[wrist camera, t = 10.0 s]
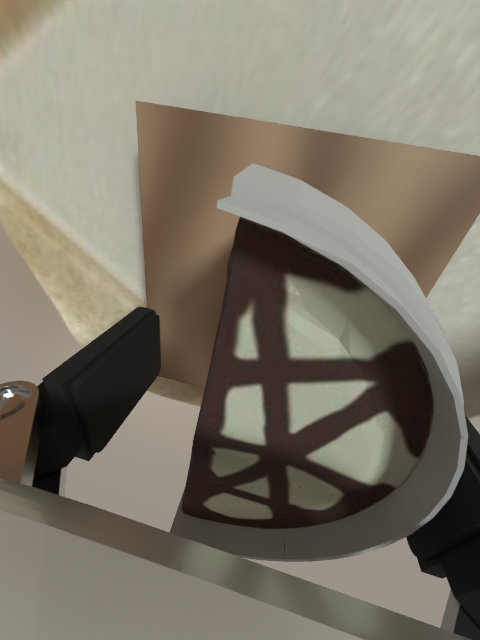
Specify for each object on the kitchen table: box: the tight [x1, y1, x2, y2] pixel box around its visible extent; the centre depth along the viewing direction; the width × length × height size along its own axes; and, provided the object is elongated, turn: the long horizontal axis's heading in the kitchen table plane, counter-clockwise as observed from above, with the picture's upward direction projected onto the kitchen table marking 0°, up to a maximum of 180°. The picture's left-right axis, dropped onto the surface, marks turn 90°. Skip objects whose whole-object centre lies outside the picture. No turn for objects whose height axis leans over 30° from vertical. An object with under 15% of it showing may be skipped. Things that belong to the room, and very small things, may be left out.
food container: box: [170, 163, 468, 562], centre depth 10 cm, size 12×6×10 cm, turn 168°
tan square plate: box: [136, 101, 480, 388], centre depth 15 cm, size 16×17×3 cm
